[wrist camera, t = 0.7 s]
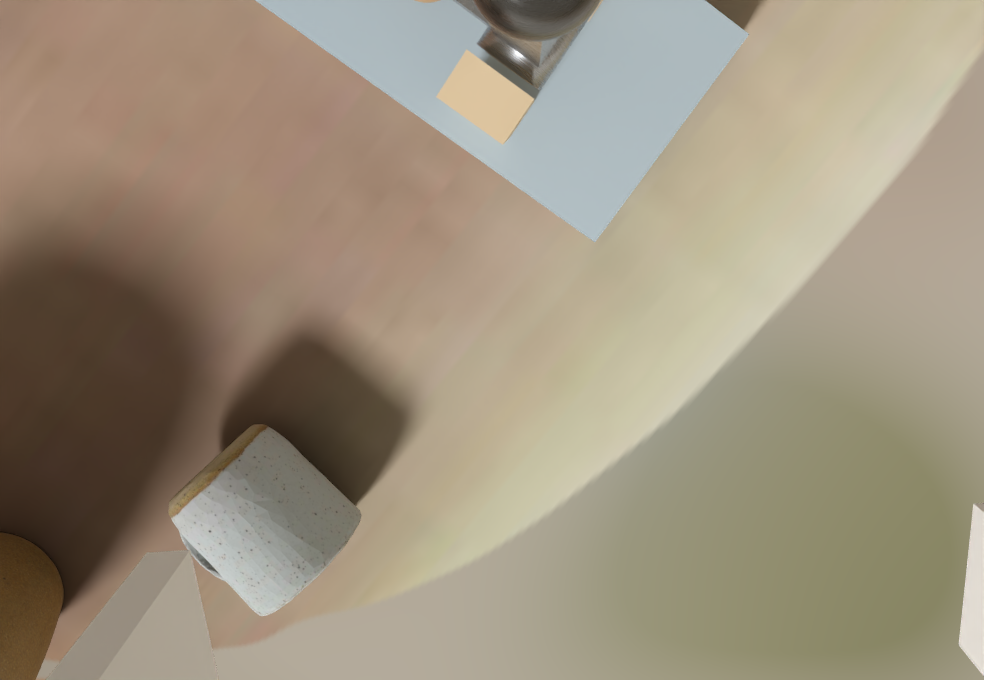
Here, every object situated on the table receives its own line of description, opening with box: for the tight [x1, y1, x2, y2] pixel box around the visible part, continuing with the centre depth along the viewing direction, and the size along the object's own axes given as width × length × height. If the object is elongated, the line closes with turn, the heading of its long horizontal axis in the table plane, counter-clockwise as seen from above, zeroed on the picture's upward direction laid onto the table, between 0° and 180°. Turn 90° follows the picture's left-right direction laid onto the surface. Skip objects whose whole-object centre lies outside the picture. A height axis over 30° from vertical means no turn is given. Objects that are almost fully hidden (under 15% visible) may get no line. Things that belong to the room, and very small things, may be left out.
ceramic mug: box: [169, 424, 361, 616], centre depth 44 cm, size 11×8×8 cm
